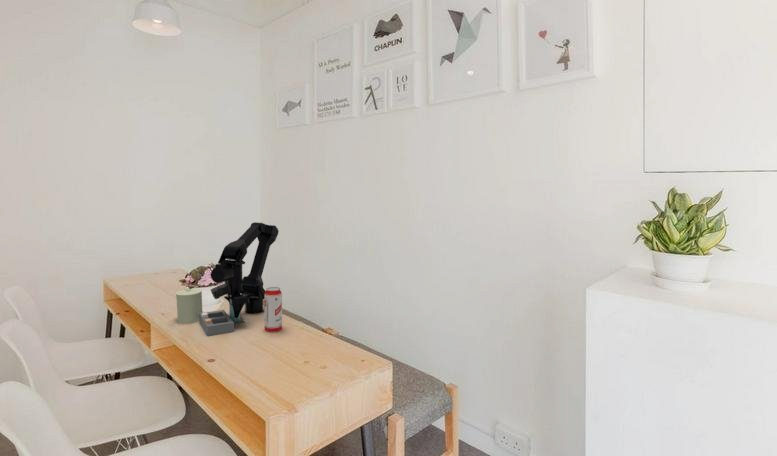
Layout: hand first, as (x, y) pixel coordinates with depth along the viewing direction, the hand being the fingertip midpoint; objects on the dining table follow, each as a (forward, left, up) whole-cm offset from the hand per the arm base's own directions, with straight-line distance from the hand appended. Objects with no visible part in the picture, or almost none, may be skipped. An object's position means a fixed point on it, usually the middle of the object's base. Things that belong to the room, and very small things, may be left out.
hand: (235, 316), depth 158 cm
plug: (0, 0, -2) cm, 2 cm away
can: (+14, -11, -3) cm, 18 cm away
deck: (0, 0, -2) cm, 3 cm away
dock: (+8, +3, -2) cm, 8 cm away
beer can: (-10, +16, -3) cm, 19 cm away
